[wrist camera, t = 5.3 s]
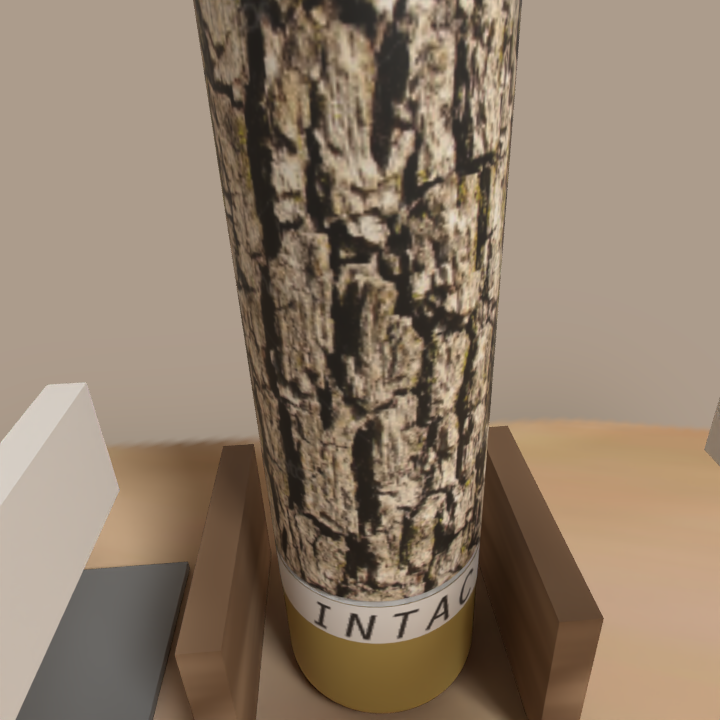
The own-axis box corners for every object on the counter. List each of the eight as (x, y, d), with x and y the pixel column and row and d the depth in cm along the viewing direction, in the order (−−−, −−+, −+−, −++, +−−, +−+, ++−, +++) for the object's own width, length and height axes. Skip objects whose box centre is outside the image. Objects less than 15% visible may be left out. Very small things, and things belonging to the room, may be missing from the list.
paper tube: (268, 601, 24) (126, -237, 12) (414, 543, 26) (417, -202, 14) (333, 763, 18) (190, -486, 6) (509, 671, 21) (644, -361, 9)
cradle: (211, 778, 18) (174, 654, 15) (243, 554, 26) (223, 446, 23) (573, 744, 19) (603, 618, 16) (497, 535, 26) (507, 425, 24)
